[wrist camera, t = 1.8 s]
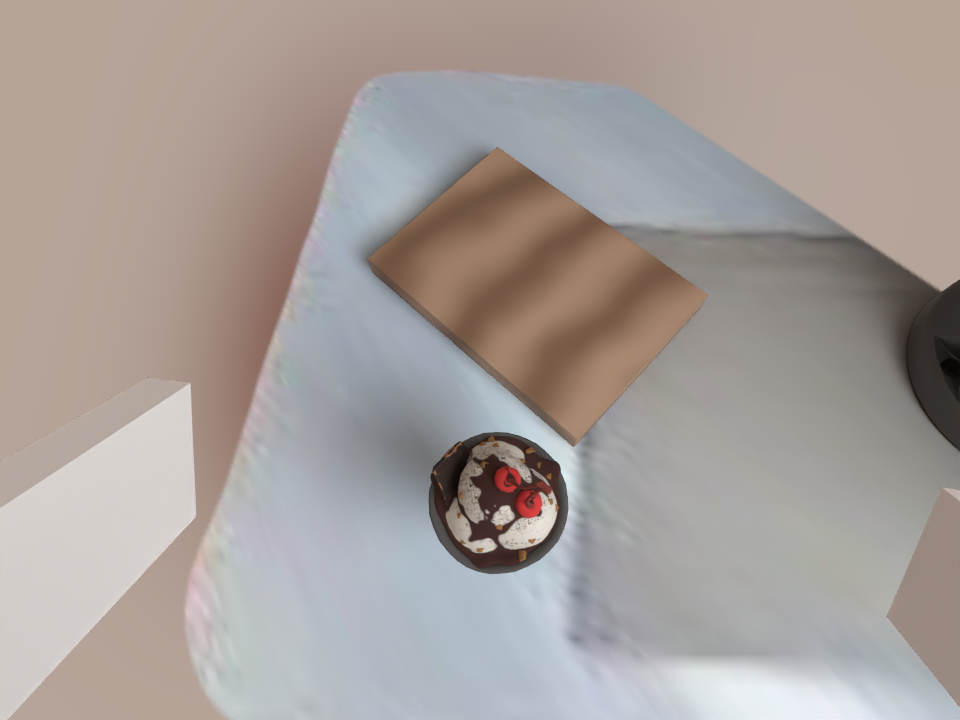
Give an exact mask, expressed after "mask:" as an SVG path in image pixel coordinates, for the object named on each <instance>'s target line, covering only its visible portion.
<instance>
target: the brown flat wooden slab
mask: <svg viewBox="0 0 960 720" xmlns="http://www.w3.org/2000/svg"><path fill="white" fill-rule="evenodd" d="M368 261H369V264H370V266H371V268H372V271H373V273H374V274H375V275H376V276H377V277H378V278H380V279H381V280H382V281H383V282H384V283H385V284H387V285H388V286H389V287H390V288H391V289H392V290H393V291H395V292H396V293H397V294H398V295H399V296H400V297H402V298H403V299H404V300H405V301H406V302H407V303H408V304H410V305H411V306H412V307H413V308H414V309H415V310H417V311H418V312H419V313H420V314H421V315H422V316H423V317H425V318H426V319H427V320H428V321H429V322H430V323H432V324H433V325H434V326H435V327H436V328H437V329H438V330H440V331H441V332H442V333H443V334H444V335H445V336H447V337H448V338H449V339H450V340H451V341H452V342H453V343H455V344H456V345H457V346H458V347H459V348H460V349H462V350H463V351H464V352H465V353H466V354H467V355H468V356H470V357H471V358H472V359H473V360H474V361H475V362H477V363H478V364H479V365H480V366H481V367H482V368H483V369H485V370H486V371H487V372H488V373H489V374H490V375H492V376H493V377H494V378H495V379H496V380H497V381H498V382H500V383H501V384H502V385H503V386H504V387H505V388H507V389H508V390H509V391H510V392H511V393H512V394H513V395H515V396H516V397H517V398H518V399H519V400H520V401H522V402H523V403H524V404H525V405H526V406H527V407H528V408H530V409H531V410H532V411H533V412H534V413H535V414H537V415H538V416H539V417H540V418H541V419H542V420H543V421H545V422H546V423H547V424H548V425H549V426H550V427H552V428H553V429H554V430H555V431H556V432H557V433H558V434H560V435H561V436H562V437H563V438H564V439H565V440H567V441H568V442H569V443H570V444H571V445H572V446H573V447H574V446H575V445H576V444H577V443H578V442H579V441H580V440H581V439H582V437H583V436H584V435H585V434H586V433H587V432H588V431H589V430H590V429H591V428H592V426H593V425H594V424H595V423H596V422H597V421H598V420H599V419H600V418H601V417H602V415H603V414H604V413H605V412H606V411H607V410H608V409H609V408H610V407H611V405H612V404H613V403H614V402H615V401H616V400H617V399H618V398H619V397H620V396H621V394H622V393H623V392H624V391H625V390H626V389H627V388H628V387H629V386H630V385H631V383H632V382H633V381H634V380H635V379H636V378H637V377H638V376H639V375H640V374H641V372H642V371H643V370H644V369H645V368H646V367H647V366H648V365H649V364H650V363H651V361H652V360H653V359H654V358H655V357H656V356H657V355H658V354H659V353H660V352H661V350H662V349H663V348H664V347H665V346H666V345H667V344H668V343H669V342H670V341H671V339H672V338H673V337H674V336H675V335H676V334H677V333H678V332H679V331H680V329H681V328H682V327H683V326H684V325H685V324H686V323H687V322H688V321H689V320H690V318H691V317H692V316H693V315H694V314H695V313H696V312H697V311H698V310H699V309H700V307H701V305H702V304H703V302H704V301H705V299H706V297H707V296H708V295H707V294H706V293H705V292H703V291H702V290H700V289H699V288H697V287H696V286H695V285H693V284H692V283H690V282H689V281H687V280H686V279H685V278H683V277H682V276H680V275H679V274H677V273H676V272H675V271H673V270H672V269H670V268H669V267H668V266H666V265H665V264H663V263H662V262H660V261H659V260H658V259H656V258H655V257H653V256H652V255H650V254H649V253H648V252H646V251H645V250H643V249H642V248H640V247H639V246H638V245H636V244H635V243H633V242H632V241H630V240H629V239H628V238H626V237H625V236H623V235H622V234H620V233H619V232H618V231H616V230H615V229H613V228H612V227H611V226H609V225H608V224H606V223H605V222H603V221H602V220H601V219H599V218H598V217H596V216H595V215H593V214H592V213H591V212H589V211H588V210H586V209H585V208H583V207H582V206H581V205H579V204H578V203H576V202H575V201H573V200H572V199H571V198H569V197H568V196H566V195H565V194H563V193H562V192H561V191H559V190H558V189H556V188H555V187H554V186H552V185H551V184H549V183H548V182H546V181H545V180H544V179H542V178H541V177H539V176H538V175H536V174H535V173H534V172H532V171H531V170H529V169H528V168H526V167H525V166H524V165H522V164H521V163H519V162H518V161H516V160H515V159H514V158H512V157H511V156H509V155H508V154H506V153H505V152H504V151H502V150H501V149H499V148H498V147H497V148H496V149H494V150H493V151H492V152H491V153H490V154H489V155H487V156H486V157H485V158H484V159H483V160H482V161H480V162H479V163H478V164H477V165H476V166H475V167H474V168H472V169H471V170H470V171H469V172H468V173H467V174H465V175H464V176H463V177H462V178H461V179H460V180H458V181H457V182H456V183H455V184H454V185H453V186H452V187H450V188H449V189H448V190H447V191H446V192H445V193H443V194H442V195H441V196H440V197H439V198H438V199H436V200H435V201H434V202H433V203H432V204H431V205H429V206H428V207H427V208H426V209H425V210H424V211H423V212H421V213H420V214H419V215H418V216H417V217H416V218H414V219H413V220H412V221H411V222H410V223H409V224H407V225H406V226H405V227H404V228H403V229H402V230H400V231H399V232H398V233H397V234H396V235H395V236H394V237H392V238H391V239H390V240H389V241H388V242H387V243H385V244H384V245H383V246H382V247H381V248H380V249H378V250H377V251H376V252H375V253H374V254H373V255H372V256H370V257H369V258H368Z"/></svg>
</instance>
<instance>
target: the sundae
mask: <svg viewBox="0 0 960 720" xmlns="http://www.w3.org/2000/svg"><path fill="white" fill-rule="evenodd" d="M432 472H433V473H432V474H431V481H432V483H431V487H430V490H429V515H430V518H431V521H432V524H433V528H434V530H435V532H436V534H437V536H438V539H439V541H440V542H441V543H442V545H443V546H444V547H445V548H446V550H447V551H448V552H449V553H450V554H451V555H452V556H453V557H454V558H455V559H456V560H457V561H458V562H460V563H461V564H463V565H465V566H466V567H468V568H470V569H473V570H475V571H478V572H482V573H487V574H501V573H509V572H515V571H518V570H520V569H523V568H525V567H528V566H529V565H531V564H533V563H535V562H537V561H539V560H540V559H541V558H542V557H544V556H545V555H546V554H547V553H548V552H549V551H550V550H551V549H552V548H553V547H554V545H555V544H556V543H557V542H558V540H559V538H560V536H561V534H562V532H563V530H564V527H565V524H566V520H567V514H568V496H567V489H566V483H565V481H564V479H563V476H562V474H561V468H560V465H559V464H558V463H557V462H556V461H554V459H553V458H552V457H551V456H550V455H549V454H548V453H547V452H546V451H545V450H544V449H542V448H541V447H540V446H539V445H537V444H536V443H534V442H532V441H530V440H528V439H526V438H523V437H521V436H518V435H514V434H510V433H501V432H493V433H483V434H480V435H477V436H474V437H471V438H469V439H467V440H465V441H463V442H461V441H460V442H458V443H457V444H455V445H454V446H453V447H452V448H451V449H450V450H449V451H447V453H446V454H445V455H444V456H443V457H442V459H441V460H440V461H439V462H438V463H437V464H436V465H435V466H434V467H433V471H432Z"/></svg>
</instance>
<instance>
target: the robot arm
mask: <svg viewBox="0 0 960 720" xmlns="http://www.w3.org/2000/svg"><path fill="white" fill-rule="evenodd" d="M907 361H908V369H909V373H910V377H911V381H912V384H913V387H914V389H915V392H916V394H917V396H918V398H919V400H920V402H921V404H922V406H923V407H924V409H925V411H926V412H927V414H928V415H929V417H930V418H931V420H932V421H933V422H934V423H935V425H936V426H937V427H938V428H939V429H940V431H941V432H942V433H943V434H944V435H945V436H946V437H947V438H948V439H949V440H950V441H951V442H952V443H953V444H954V445H955V446H956V447H957V448H959V449H960V280H958V281H957V282H955V283H953V284H952V285H951V286H949V287H948V288H947V289H945V290H944V291H942V292H941V293H940V294H938V295H937V296H936V297H934V298H933V299H932V300H930V301H929V302H928V303H927V304H926V305H925V306H924V308H923V309H922V310H921V311H920V313H919V314H918V316H917V317H916V319H915V321H914V323H913V325H912V328H911V331H910V334H909V338H908V345H907ZM195 517H196V502H195V479H194V457H193V433H192V411H191V387H190V383H186V382H178V381H170V380H164V379H157V378H150V377H148V378H146V379H144V380H142V381H141V382H139V383H137V384H135V385H133V386H132V387H130V388H128V389H126V390H125V391H123V392H121V393H119V394H118V395H116V396H115V397H112V398H111V399H109V400H107V401H106V402H104V403H102V404H100V405H98V406H97V407H95V408H93V409H91V410H89V411H88V412H86V413H84V414H82V415H81V416H79V417H77V418H75V419H74V420H72V421H70V422H68V423H67V424H65V425H63V426H61V427H59V428H58V429H56V430H54V431H52V432H51V433H49V434H47V435H45V436H44V437H42V438H40V439H38V440H37V441H35V442H33V443H31V444H30V445H28V446H26V447H24V448H23V449H21V450H19V451H17V452H15V453H14V454H12V455H10V456H8V457H7V458H5V459H3V460H1V461H0V720H8V719H9V717H10V716H11V715H12V714H13V713H14V712H15V711H16V710H17V709H18V708H19V707H20V706H21V705H22V703H23V702H24V701H25V700H26V699H27V698H28V697H29V696H30V695H31V694H32V692H33V691H35V689H36V688H37V687H38V686H39V685H40V684H41V683H42V682H43V681H44V680H45V679H46V678H47V676H48V675H49V674H50V673H51V672H52V671H53V670H54V669H55V668H56V667H57V666H58V665H59V664H60V662H61V661H62V660H63V659H64V658H65V657H66V656H67V655H68V654H69V653H70V652H71V651H72V650H73V648H74V647H75V646H76V645H77V644H78V643H79V642H80V641H81V640H82V639H83V638H84V637H85V636H86V634H87V633H88V632H89V631H90V630H91V629H92V628H93V627H94V626H95V625H96V624H97V622H99V620H100V619H101V618H102V617H103V616H104V615H105V614H106V613H107V612H108V611H109V610H110V609H111V607H112V606H113V605H114V604H115V603H116V602H117V601H118V600H119V599H120V598H121V597H122V596H123V595H124V594H125V592H126V591H127V590H128V589H129V588H130V587H131V586H132V585H133V584H134V583H135V582H136V581H137V580H138V578H139V577H140V576H141V575H142V574H143V573H144V572H145V571H146V570H147V569H148V568H149V566H150V565H151V564H152V563H153V562H154V561H155V560H156V559H157V558H158V557H159V556H160V555H161V554H162V552H163V551H164V550H165V549H166V548H167V547H168V546H169V545H170V544H171V543H172V542H173V541H174V540H175V539H176V537H177V536H178V535H179V534H180V533H181V532H182V531H183V530H184V529H185V528H186V527H187V526H188V525H189V523H190V522H191V521H192V520H193V519H194V518H195ZM887 618H888V619H889V620H890V621H891V622H892V624H893V625H894V626H895V627H896V629H897V630H898V631H899V632H900V634H901V635H902V636H903V637H904V639H905V640H906V641H907V642H908V644H909V645H910V646H911V647H912V649H913V650H914V651H915V652H916V653H917V655H918V656H919V657H920V658H921V660H922V661H923V662H924V663H925V665H926V666H927V667H928V668H929V670H930V671H931V672H932V673H933V675H934V676H935V677H936V678H937V679H938V681H939V682H940V683H941V684H942V686H943V687H944V688H945V689H946V691H947V692H948V693H949V694H950V696H951V697H952V698H953V699H954V701H955V702H956V703H957V704H958V706H959V707H960V490H956V489H949V488H942V489H941V491H940V494H939V496H938V498H937V501H936V503H935V505H934V508H933V510H932V512H931V515H930V517H929V519H928V521H927V524H926V526H925V528H924V531H923V533H922V535H921V538H920V540H919V542H918V545H917V547H916V549H915V552H914V554H913V556H912V559H911V561H910V563H909V566H908V568H907V570H906V573H905V575H904V577H903V580H902V582H901V584H900V587H899V589H898V591H897V594H896V596H895V598H894V601H893V603H892V605H891V608H890V610H889V612H888V615H887Z"/></svg>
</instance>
